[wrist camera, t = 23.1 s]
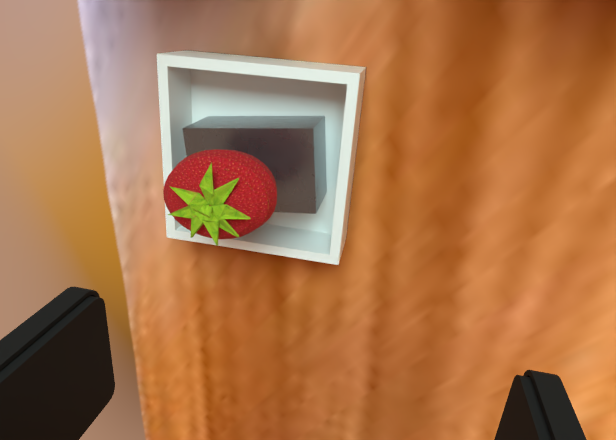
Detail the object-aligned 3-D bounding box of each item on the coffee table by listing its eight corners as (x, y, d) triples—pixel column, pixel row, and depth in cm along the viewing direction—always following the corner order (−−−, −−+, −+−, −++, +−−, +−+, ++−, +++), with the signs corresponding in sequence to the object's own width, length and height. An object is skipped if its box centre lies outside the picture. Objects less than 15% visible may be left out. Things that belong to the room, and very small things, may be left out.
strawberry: (195, 132, 35) (119, 170, 26) (293, 131, 33) (248, 171, 24) (206, 206, 37) (139, 264, 28) (298, 208, 35) (259, 271, 26)
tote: (346, 239, 42) (338, 264, 38) (191, 215, 45) (166, 237, 40) (366, 67, 36) (360, 73, 32) (186, 50, 39) (156, 53, 34)
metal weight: (326, 192, 40) (316, 213, 35) (217, 188, 42) (193, 208, 37) (325, 115, 37) (313, 128, 33) (208, 116, 39) (182, 128, 35)
